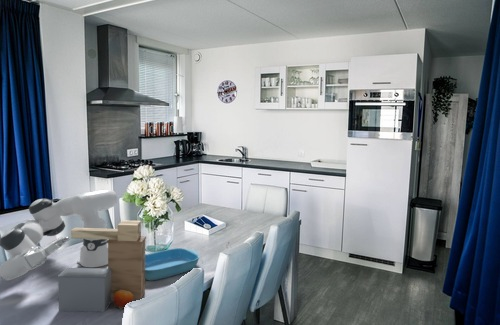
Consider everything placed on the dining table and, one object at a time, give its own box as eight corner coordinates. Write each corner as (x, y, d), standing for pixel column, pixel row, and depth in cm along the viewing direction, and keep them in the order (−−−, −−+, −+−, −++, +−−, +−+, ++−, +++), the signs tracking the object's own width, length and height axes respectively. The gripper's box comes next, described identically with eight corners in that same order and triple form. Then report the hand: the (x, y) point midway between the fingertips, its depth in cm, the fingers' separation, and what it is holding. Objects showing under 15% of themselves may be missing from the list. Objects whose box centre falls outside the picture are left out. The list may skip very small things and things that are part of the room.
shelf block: (113, 291, 163) (113, 235, 160) (145, 292, 163) (146, 236, 161) (107, 299, 155) (107, 240, 152) (141, 299, 156) (141, 241, 153)
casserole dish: (184, 256, 209) (184, 244, 208) (207, 268, 193) (207, 255, 192) (122, 272, 184) (122, 258, 183) (142, 288, 168) (143, 273, 167)
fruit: (105, 307, 146) (112, 286, 149) (116, 308, 153) (123, 289, 156) (121, 311, 143) (128, 290, 146) (132, 313, 150) (138, 293, 153)
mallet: (76, 234, 159) (76, 219, 158) (140, 236, 160) (141, 220, 160) (69, 239, 152) (69, 223, 151) (136, 241, 153) (136, 225, 153)
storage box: (67, 300, 153) (67, 267, 151) (111, 301, 154) (111, 268, 152) (58, 310, 144) (57, 276, 143) (104, 311, 145) (104, 277, 144)
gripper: (51, 254, 165) (77, 240, 165) (25, 272, 145) (55, 256, 145) (43, 242, 165) (70, 228, 165) (17, 259, 144) (47, 243, 144)
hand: (63, 241), depth 155 cm, fingers open, 8 cm apart
